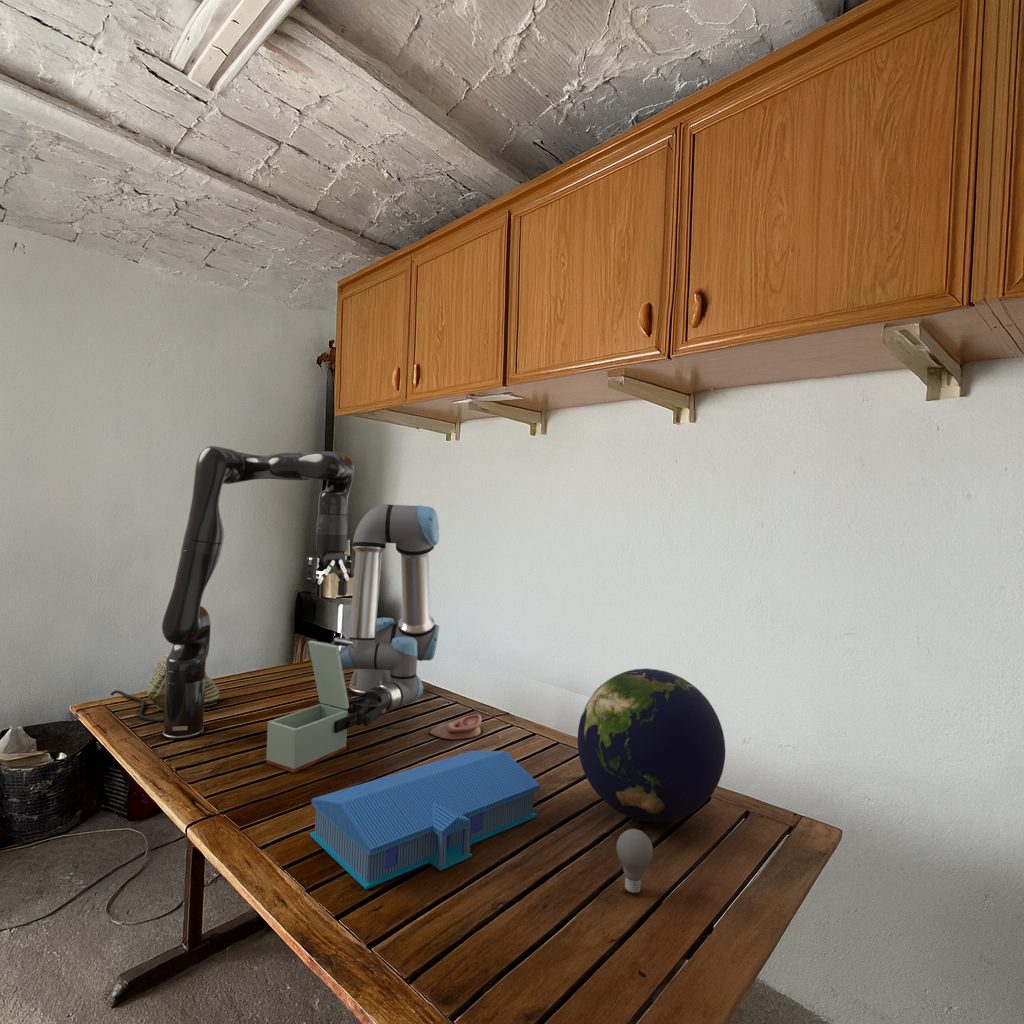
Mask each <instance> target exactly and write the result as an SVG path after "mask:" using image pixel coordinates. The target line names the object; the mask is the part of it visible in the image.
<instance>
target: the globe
mask: <svg viewBox="0 0 1024 1024" xmlns="http://www.w3.org/2000/svg"><path fill="white" fill-rule="evenodd" d="M577 751H578V757H579V761H580V764H581V768H582V771H583V773H584V775H585V777H586V779H587V781H588V783H589V785H590V786H591V787H592V789H593V790H594V791H595V793H596V794H597V795H598V796H599V797H600V799H602V801H604V803H606V804H607V805H608V806H609V807H610V808H612V809H613V810H614V811H616V812H618V813H620V814H622V815H623V816H626V817H627V818H631V819H634V820H636V821H640V822H646V823H654V824H656V823H668V822H669V823H670V822H673V821H677V820H680V819H683V818H685V817H687V816H689V815H692V814H693V813H694V812H695V811H697V810H699V809H700V808H701V807H702V806H703V805H704V804H705V803H706V802H707V801H708V800H709V799H710V798H711V796H712V795H713V794H714V792H715V790H716V789H717V787H718V785H719V783H720V781H721V778H722V776H723V771H724V768H725V762H726V740H725V736H724V731H723V727H722V723H721V720H720V719H719V716H718V714H717V712H716V711H715V709H714V707H713V706H712V704H711V702H710V701H709V699H708V698H707V697H706V696H705V695H704V694H703V692H701V690H699V688H697V687H696V686H695V685H694V684H692V683H691V682H690V681H688V680H686V679H685V678H684V677H681V676H679V675H678V674H675V673H673V672H669V671H666V670H663V669H658V668H647V667H646V668H635V669H630V670H627V671H623V672H620V673H619V674H616V675H614V676H612V677H611V678H609V679H608V680H606V681H605V682H604V683H602V684H601V685H600V686H599V687H597V688H596V690H595V691H594V692H593V693H592V695H591V696H590V697H589V699H588V701H587V702H586V704H585V706H584V707H583V710H582V712H581V715H580V719H579V723H578V729H577Z"/></svg>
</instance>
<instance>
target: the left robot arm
mask: <svg viewBox="0 0 1024 1024" xmlns="http://www.w3.org/2000/svg"><path fill="white" fill-rule="evenodd" d="M354 475H355V467H354V463H353V460H352V459H351V457H350V456H349V455H347V454H346V453H342V452H337V451H326V450H325V451H313V452H302V451H301V452H300V451H299V452H298V451H295V452H293V451H290V452H289V451H287V452H276V453H272V454H262V455H261V454H259V455H258V454H251V453H245V452H240V451H236V450H234V449H231V448H228V447H222V446H217V445H209V446H207V447H205V448H203V449H202V451H201V452H200V453H199V455H198V457H197V459H196V464H195V469H194V480H193V489H192V497H191V504H190V507H189V513H188V518H187V524H186V528H185V531H184V536H183V541H182V545H181V549H180V554H179V560H178V565H177V568H176V574H175V580H174V585H173V588H172V592H171V595H170V598H169V601H168V604H167V607H166V609H165V612H164V615H163V618H162V623H161V631H162V635H163V637H164V639H165V640H166V641H167V642H168V643H169V644H171V645H172V647H171V651H170V652H169V654H168V655H169V656H168V657H167V659H166V674H165V705H164V710H163V717H162V718H152V717H150V716H145V715H143V714H142V713H143V711H144V708H145V706H146V702H145V700H144V699H143V698H141V697H139V696H133V695H130V694H128V693H125V692H124V691H121V690H118V689H117V690H114V691H112V692H111V693H110V696H114V695H115V694H119V695H121V696H122V697H125V698H126V699H130V700H135V701H138V702H141V705H140V709H139V711H138V713H137V716H138V717H139V718H140V719H142V720H144V721H148V722H155V723H156V722H157V723H161V722H163V731H162V737H164V738H166V739H169V740H185V739H190V738H191V739H192V738H194V737H197V736H199V735H202V734H203V732H204V730H205V729H204V722H205V721H204V718H205V706H204V693H205V672H206V664H207V663H206V662H207V658H208V655H209V653H210V642H211V628H212V627H211V625H212V623H211V617H210V613H209V611H207V608H205V607H203V606H202V605H201V604H202V599H203V595H204V592H205V590H206V587H207V585H208V583H209V581H210V580H211V578H212V576H213V574H214V572H215V570H216V568H217V566H218V564H219V561H220V558H221V554H222V551H223V550H222V549H223V546H224V539H225V529H224V524H223V519H222V516H221V512H220V497H221V492H222V489H223V488H222V487H223V485H231V484H237V483H242V482H243V483H244V482H248V481H254V480H255V481H256V480H277V481H279V480H280V481H308V480H309V481H310V480H318V481H319V480H320V481H326V486H325V489H324V490H323V491H321V492H319V495H318V511H317V520H316V531H315V532H316V535H315V550H316V552H317V556H315V557H314V556H307V557H306V561H305V573H304V581H305V582H308V583H310V584H311V597H312V600H316V601H318V600H321V599H322V585H323V584H322V583H323V581H324V578H326V577H327V576H328V575H331V574H334V575H336V576H337V578H338V581H337V595H338V596H340V597H345V596H347V593H348V581H349V580H351V579H354V569H355V556H354V555H355V554H354V555H353V554H350V553H346V552H347V551H348V539H349V537H348V536H349V535H348V534H349V519H348V512H349V511H348V509H349V505H348V504H349V495H350V493H351V489H352V485H353V480H354Z"/></svg>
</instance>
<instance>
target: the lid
mask: <svg viewBox="0 0 1024 1024" xmlns="http://www.w3.org/2000/svg"><path fill="white" fill-rule="evenodd" d="M307 644H308V650H309V654H310V660H311V665H312V670H313V676H314V681H315V686H316V691H317V696H318V702H319V704H320V703H324V704H328V705H332V706H335V707H339V708H343V709H348V708H349V703H348V698H347V696H348V693H347V687H346V681H345V676H344V671H343V667H342V665H341V659H340V654H342V653H343V652H345V651H346V650H348V649H350V648H355V647H356V646H357V641H356V640H351V639H349V638H345V637H342V636H341V637H340V636H335V637H334V638H333V641H332V642H330V643H326V642H321V641H316V640H312V639H311V640H309V641H307ZM339 646H340V647H341V646H346V647H345V648H343V649H341V650H339Z"/></svg>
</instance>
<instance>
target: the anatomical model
mask: <svg viewBox="0 0 1024 1024" xmlns="http://www.w3.org/2000/svg"><path fill="white" fill-rule="evenodd" d="M481 724H482V716H481V714H477V713H476V714H471V715H467V716H463V717H461V718H458V719H455V720H452V721H450V722H446V723H441V724H439V725H437V726H435V727H434V728H432V729H431V730H430V731H429V733H430V735H432V736H435V737H438V738H442V739H446V740H463V739H469V738H474V737H477V736H479V735H480V734H481V727H480V726H481Z"/></svg>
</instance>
